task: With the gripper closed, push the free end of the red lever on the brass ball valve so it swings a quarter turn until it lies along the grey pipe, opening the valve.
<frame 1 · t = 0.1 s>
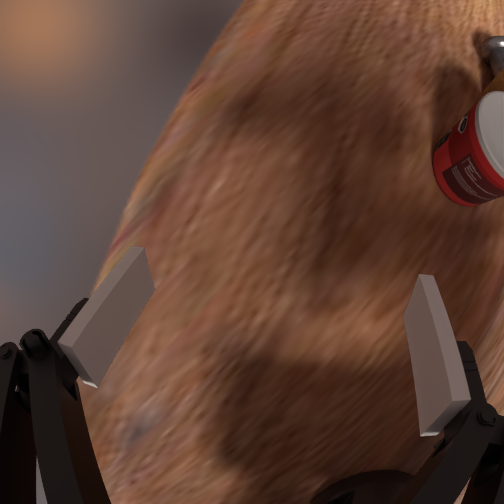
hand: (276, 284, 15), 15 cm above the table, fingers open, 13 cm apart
canned food: (460, 171, 27), on the table
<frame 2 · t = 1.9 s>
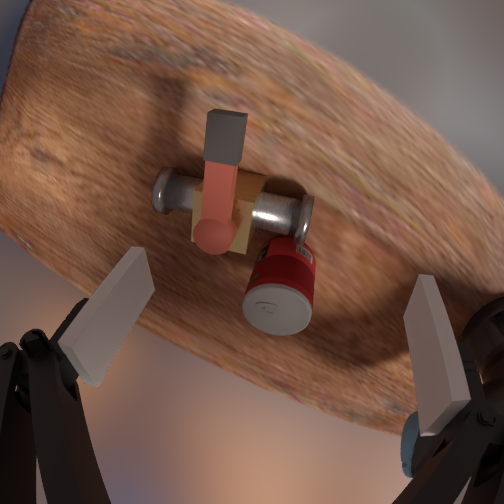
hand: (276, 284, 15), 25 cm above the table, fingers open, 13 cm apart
valve pipe: (238, 193, 40), on the table
canned food: (287, 257, 44), on the table
lever: (219, 186, 29), point 10 cm above the table, hinge at 0.0°
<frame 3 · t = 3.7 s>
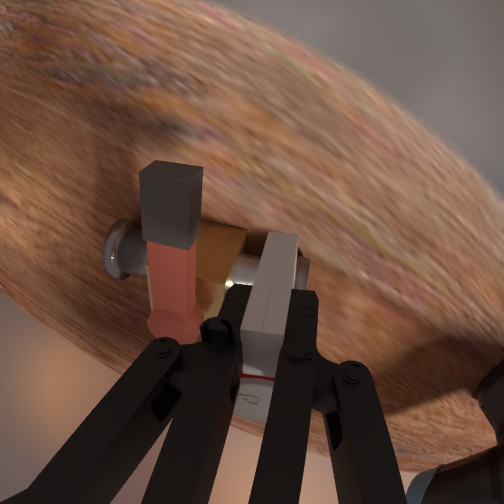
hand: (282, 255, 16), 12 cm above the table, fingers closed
valve pipe: (212, 250, 32), on the table
canned food: (278, 321, 36), on the table
lever: (172, 270, 21), point 10 cm above the table, hinge at 0.0°
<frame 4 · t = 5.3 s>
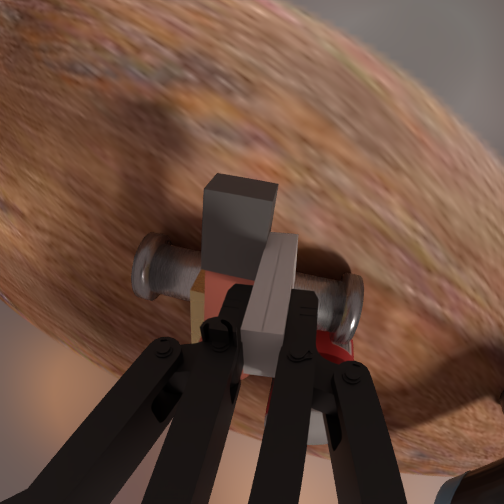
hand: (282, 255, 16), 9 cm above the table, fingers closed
valve pipe: (253, 267, 29), on the table
canned food: (316, 338, 33), on the table
lever: (230, 300, 18), point 10 cm above the table, hinge at 0.0°, touching gripper
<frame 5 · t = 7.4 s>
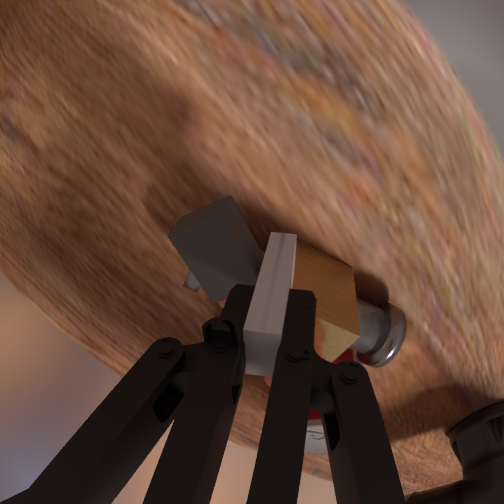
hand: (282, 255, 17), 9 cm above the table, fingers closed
valve pipe: (303, 277, 29), on the table
canned food: (327, 352, 34), on the table
lever: (263, 318, 18), point 10 cm above the table, hinge at 51.5°, touching gripper
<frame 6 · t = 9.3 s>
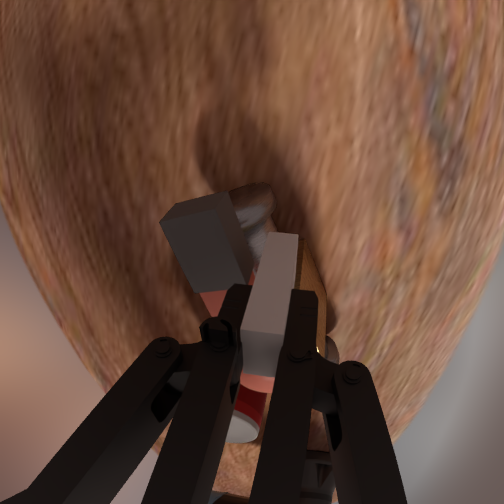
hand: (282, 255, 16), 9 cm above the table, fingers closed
valve pipe: (283, 276, 29), on the table
canned food: (242, 342, 36), on the table
lever: (241, 314, 18), point 10 cm above the table, hinge at 83.6°
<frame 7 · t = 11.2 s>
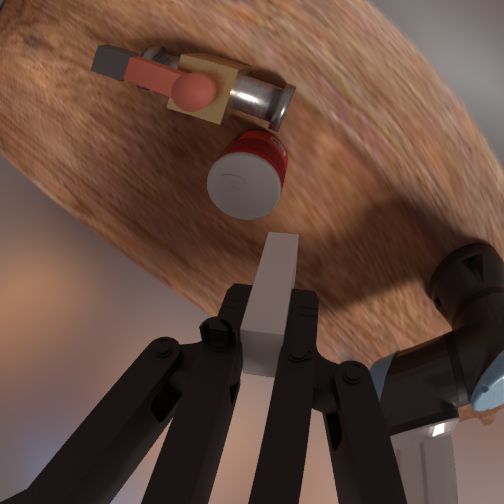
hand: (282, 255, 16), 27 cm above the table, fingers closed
valve pipe: (220, 81, 36), on the table
canned food: (259, 154, 42), on the table
lever: (151, 74, 28), point 10 cm above the table, hinge at 83.6°
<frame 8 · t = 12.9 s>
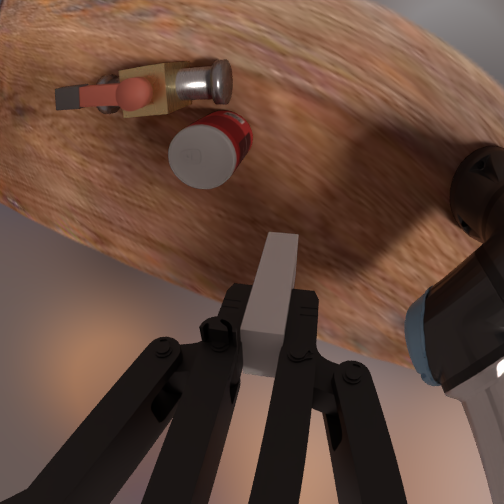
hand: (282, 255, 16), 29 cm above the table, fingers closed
valve pipe: (169, 84, 40), on the table
canned food: (226, 134, 43), on the table
lever: (99, 95, 32), point 10 cm above the table, hinge at 83.6°
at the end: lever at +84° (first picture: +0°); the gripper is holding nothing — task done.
